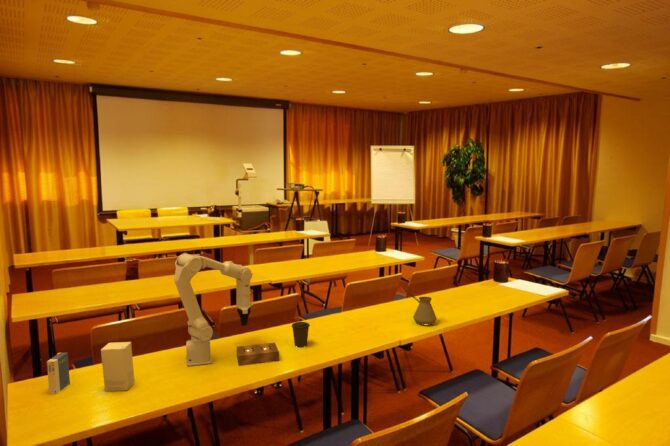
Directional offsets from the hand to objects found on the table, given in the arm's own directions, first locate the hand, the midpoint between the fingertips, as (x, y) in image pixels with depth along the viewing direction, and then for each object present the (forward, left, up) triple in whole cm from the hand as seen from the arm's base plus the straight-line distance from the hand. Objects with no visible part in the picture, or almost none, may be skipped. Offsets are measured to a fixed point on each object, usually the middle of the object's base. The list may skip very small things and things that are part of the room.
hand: (244, 325), depth 196 cm
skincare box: (-46, -25, -10) cm, 53 cm away
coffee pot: (+88, +11, -10) cm, 89 cm away
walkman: (-66, -20, -10) cm, 70 cm away
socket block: (+4, -14, -10) cm, 17 cm away
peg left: (0, -13, -10) cm, 17 cm away
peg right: (+7, -14, -10) cm, 18 cm away
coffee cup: (+24, -5, -10) cm, 26 cm away
